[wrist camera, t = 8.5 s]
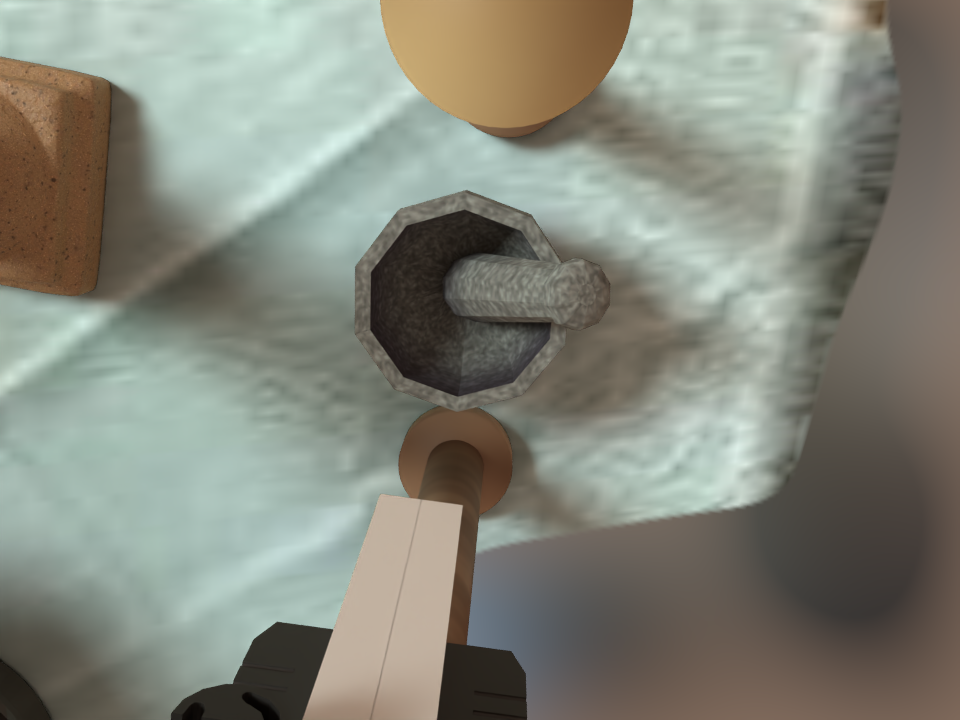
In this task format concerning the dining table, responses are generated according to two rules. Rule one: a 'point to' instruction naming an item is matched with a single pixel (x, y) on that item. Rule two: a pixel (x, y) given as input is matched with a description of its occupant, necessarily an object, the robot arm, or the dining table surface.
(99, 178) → the candle holder
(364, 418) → the dining table surface
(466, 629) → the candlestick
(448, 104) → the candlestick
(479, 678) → the robot arm
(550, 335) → the mortar and pestle
